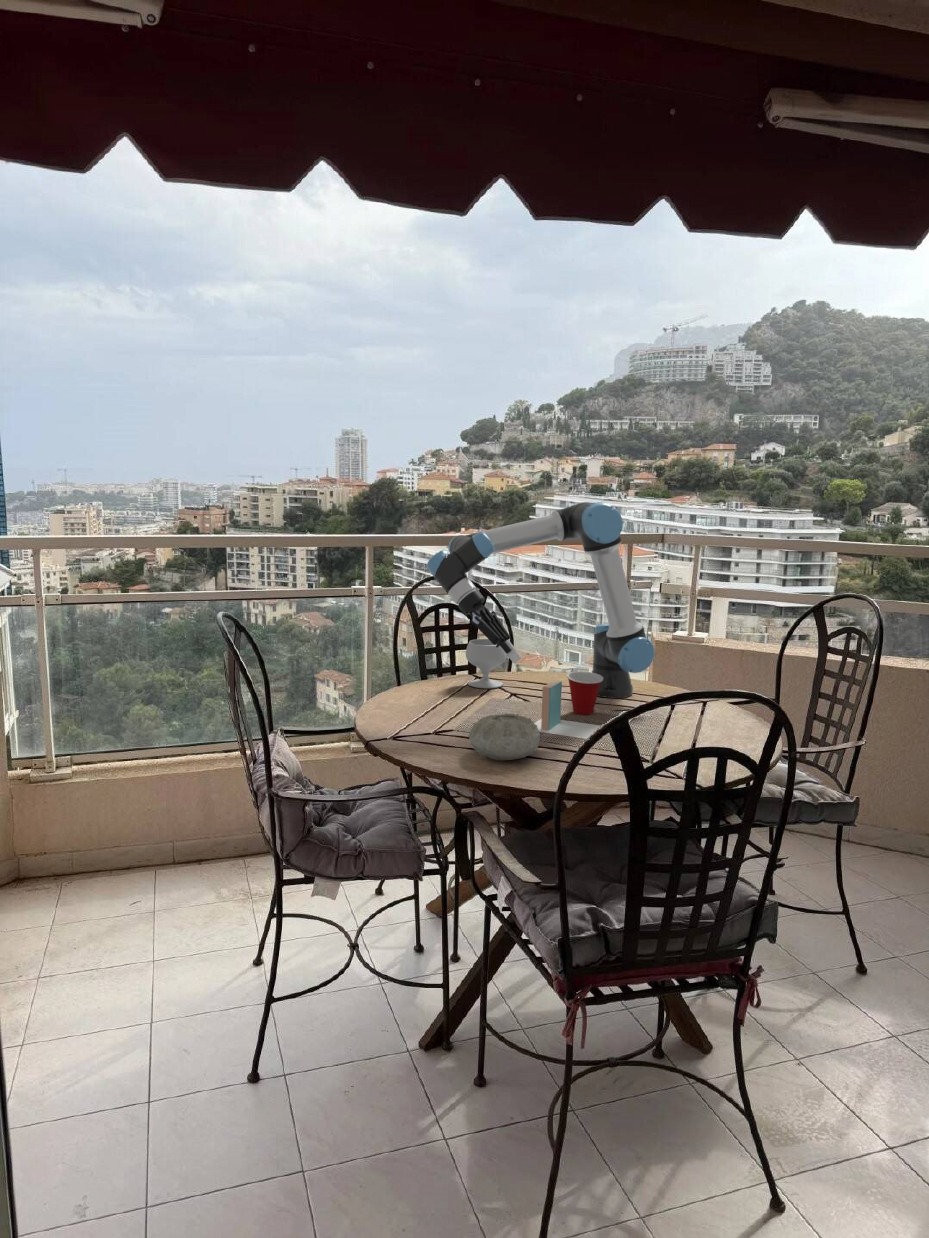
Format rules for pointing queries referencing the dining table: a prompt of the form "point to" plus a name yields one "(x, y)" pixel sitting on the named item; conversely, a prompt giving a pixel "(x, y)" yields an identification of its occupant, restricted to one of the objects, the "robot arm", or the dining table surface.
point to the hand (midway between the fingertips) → (518, 660)
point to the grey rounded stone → (505, 736)
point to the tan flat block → (551, 705)
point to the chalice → (485, 661)
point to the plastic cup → (584, 691)
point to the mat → (570, 729)
